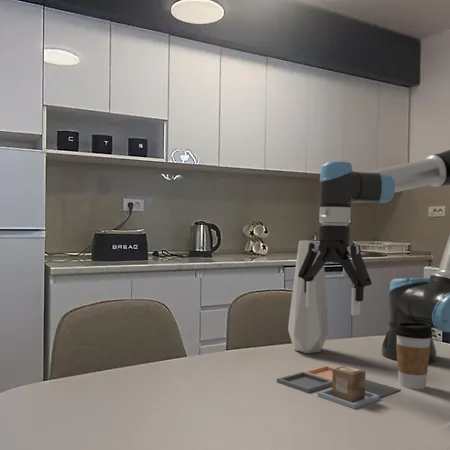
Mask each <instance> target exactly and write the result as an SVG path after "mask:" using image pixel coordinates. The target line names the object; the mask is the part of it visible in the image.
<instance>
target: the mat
mask: <svg viewBox="0 0 450 450" xmlns="http://www.w3.org/2000/svg"><path fill="white" fill-rule="evenodd" d="M365 391H367V392H370V393H373V394H376V395H379V400H380V399H382V398H386V397H388V396H390V395H393V394H395V393H398V392H401V389H400V388H396V387H393V386H390V385H386V384H383V383H380V382H376V381H372V380H369V379H365Z"/></svg>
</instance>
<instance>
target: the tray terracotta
mask: <svg viewBox="0 0 450 450" xmlns="http://www.w3.org/2000/svg"><path fill="white" fill-rule="evenodd" d="M335 368H336V367H333V366H329V365H323V366H319V367H316V368H312V369H308V370H304V371H303V372H305V373H308V374H311V375H315V376H318V377H321V378H324V379H328V380H331V381H332V375H333V369H335Z"/></svg>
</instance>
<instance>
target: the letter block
mask: <svg viewBox="0 0 450 450" xmlns="http://www.w3.org/2000/svg"><path fill="white" fill-rule="evenodd" d="M334 368H335V369H333V375H332V386H331V388H332V396H334V397H337V398H340V399H343V400H346V401H349V402H352V403H354V402H356V401H359V400H362V399H364V398H365V380H366V372H367V371H366V370H363V369H360V368H356V367H353V366H349V365H343V366H339V367H334Z"/></svg>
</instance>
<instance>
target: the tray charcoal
mask: <svg viewBox="0 0 450 450" xmlns="http://www.w3.org/2000/svg"><path fill="white" fill-rule="evenodd" d="M276 383H278V384H281V385H284V386H287V387H289V388H293V389H296V390H298V391H301V392H304V393H306V394H309V393H313V392H316V391H319V390H323V389H325V388H328V387H332V381H331V380H328V379H324V378H321V377H318V376H315V375H311V374H308V373H305V372H304V371H300V372H297V373H293V374H289V375H286V376H282V377H278V378H276Z"/></svg>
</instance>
